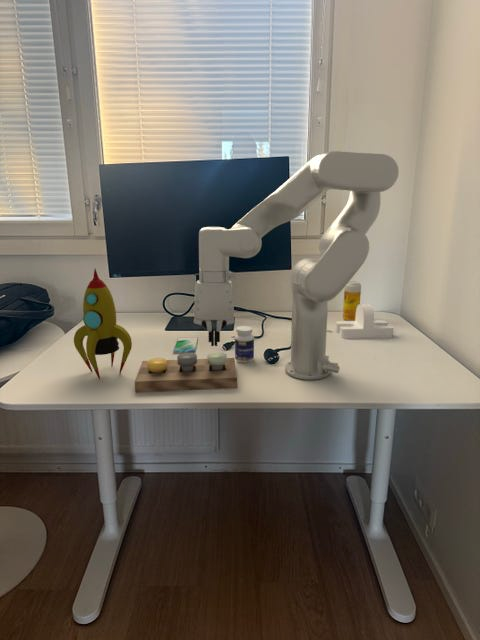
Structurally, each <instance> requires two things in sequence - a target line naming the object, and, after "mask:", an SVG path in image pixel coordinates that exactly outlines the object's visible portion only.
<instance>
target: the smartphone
mask: <svg viewBox="0 0 480 640" xmlns="http://www.w3.org/2000/svg"><path fill="white" fill-rule="evenodd" d="M198 343H199V338H198V337H177V339H176V342H175V345H174V348H173V351H172V354H173V355H180V354H183V353H193V354H197V349H198Z"/></svg>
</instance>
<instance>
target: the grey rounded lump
mask: <svg viewBox="0 0 480 640" xmlns="http://www.w3.org/2000/svg"><path fill="white" fill-rule="evenodd" d="M176 356H177V357H176V358H177V359H176V360H177V362H178V365H180V366H182V372H193V365H195V364H196V363H197V359H198V355H197V353H195V354H193V353H183V354H177V355H176Z"/></svg>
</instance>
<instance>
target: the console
mask: <svg viewBox="0 0 480 640" xmlns="http://www.w3.org/2000/svg"><path fill="white" fill-rule="evenodd" d="M166 360H167V369H166V370H164V371H163V372H164V373H152V371H149V370H148V367H147V362H148V361H149V360H142V362H141V365H140V367H139V369H138V372H137V374H136V376H135V380H134V388H135V393H152V392H153V393H155V392H176V391H177V392H178V391H203V390H230V389H238V373H237V367H236V366H237V365H236V359H235V357H227V362H226V363H225V364H223V371H212V365H211V364H208V362H207V358H197V363H196V364H195V365H193V372H182V366H180V365H178V362H177V359H166Z"/></svg>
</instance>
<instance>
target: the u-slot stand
mask: <svg viewBox="0 0 480 640" xmlns="http://www.w3.org/2000/svg"><path fill="white" fill-rule="evenodd" d="M388 323H389V322H388V321H386V320H384V319H383V320H381V319H380V320H378V319H377V320H375V312H374V308H373V306H372V304H369V303H368V304H364V303H363V304H361V303H360V305H358V306H357V309H356V316H355V321H344V320H338V321H335V332H336V333H337V334H339V337H340V338H341V339H344V340H345V339H348V340H349V339H386V338H388V339H390V338H391V339H392V338H394V329H395V328H394V326H393V325H389V324H388Z"/></svg>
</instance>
